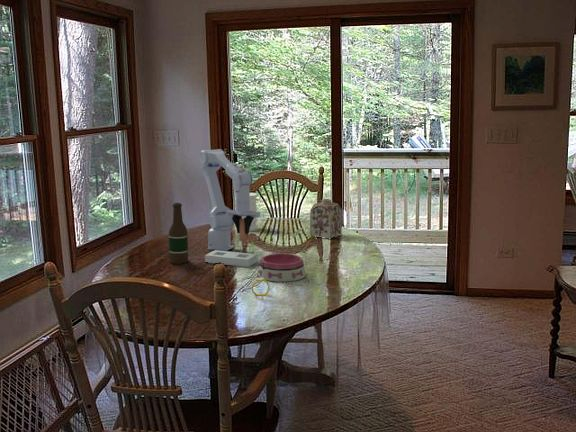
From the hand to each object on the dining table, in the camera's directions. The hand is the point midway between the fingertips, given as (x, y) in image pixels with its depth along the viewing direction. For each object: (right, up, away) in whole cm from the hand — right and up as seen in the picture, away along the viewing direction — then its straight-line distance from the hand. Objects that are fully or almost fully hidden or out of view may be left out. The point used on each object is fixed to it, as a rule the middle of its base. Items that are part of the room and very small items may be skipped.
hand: (243, 233), depth 250 cm
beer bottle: (-25, -12, -7) cm, 29 cm away
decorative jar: (+37, -3, +40) cm, 55 cm away
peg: (0, -3, 0) cm, 3 cm away
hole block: (-4, -11, -7) cm, 14 cm away
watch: (+10, -20, -48) cm, 53 cm away
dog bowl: (+16, -16, -25) cm, 34 cm away
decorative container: (-2, 0, +55) cm, 55 cm away
